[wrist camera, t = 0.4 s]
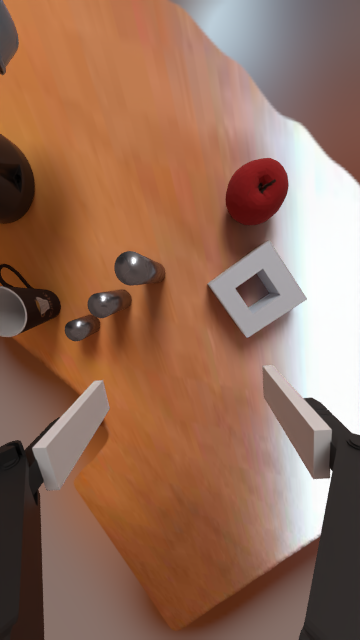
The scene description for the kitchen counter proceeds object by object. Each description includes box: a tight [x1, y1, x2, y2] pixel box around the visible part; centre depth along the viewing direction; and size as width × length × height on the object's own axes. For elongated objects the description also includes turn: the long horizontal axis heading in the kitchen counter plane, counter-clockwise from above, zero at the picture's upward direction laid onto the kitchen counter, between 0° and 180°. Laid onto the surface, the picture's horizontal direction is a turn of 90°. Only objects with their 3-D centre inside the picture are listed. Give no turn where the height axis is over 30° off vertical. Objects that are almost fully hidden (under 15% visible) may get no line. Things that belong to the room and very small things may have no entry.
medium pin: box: [88, 290, 132, 318], centre depth 36 cm, size 4×4×10 cm
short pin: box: [65, 315, 100, 341], centre depth 40 cm, size 4×4×6 cm
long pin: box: [115, 251, 165, 285], centre depth 31 cm, size 4×4×16 cm
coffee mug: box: [0, 264, 61, 337], centre depth 37 cm, size 12×9×10 cm
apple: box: [226, 158, 288, 225], centre depth 31 cm, size 9×9×10 cm
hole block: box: [208, 240, 307, 338], centre depth 36 cm, size 12×12×5 cm
